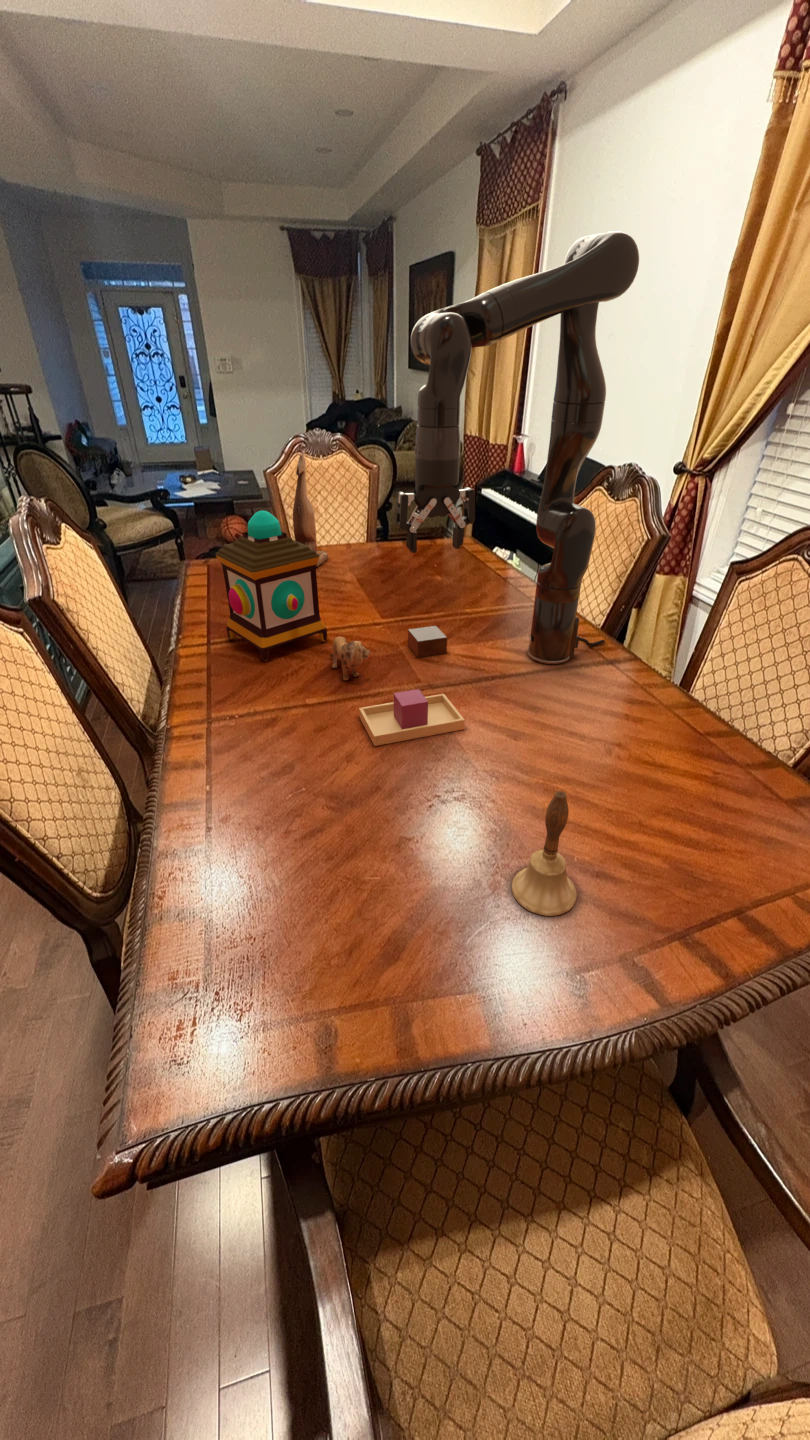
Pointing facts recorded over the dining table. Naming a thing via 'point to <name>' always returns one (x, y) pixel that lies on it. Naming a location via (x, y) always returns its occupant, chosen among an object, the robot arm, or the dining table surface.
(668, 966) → the dining table surface
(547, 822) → the hand bell
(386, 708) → the tray
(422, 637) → the walnut block
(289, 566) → the decorative lantern
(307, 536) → the bird sculpture
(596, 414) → the robot arm
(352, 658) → the lion figurine
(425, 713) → the mulberry block
